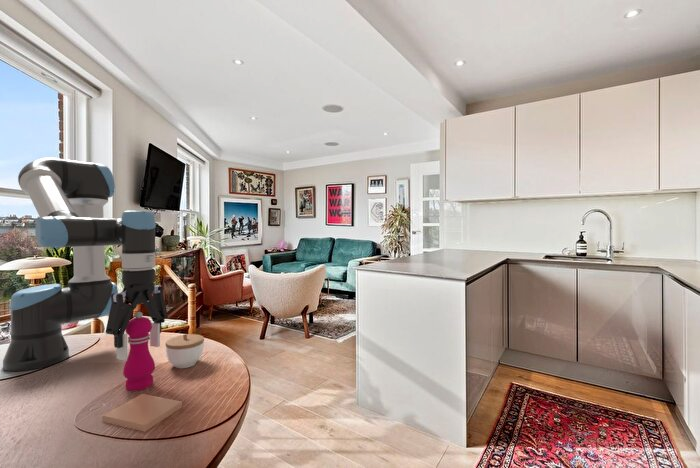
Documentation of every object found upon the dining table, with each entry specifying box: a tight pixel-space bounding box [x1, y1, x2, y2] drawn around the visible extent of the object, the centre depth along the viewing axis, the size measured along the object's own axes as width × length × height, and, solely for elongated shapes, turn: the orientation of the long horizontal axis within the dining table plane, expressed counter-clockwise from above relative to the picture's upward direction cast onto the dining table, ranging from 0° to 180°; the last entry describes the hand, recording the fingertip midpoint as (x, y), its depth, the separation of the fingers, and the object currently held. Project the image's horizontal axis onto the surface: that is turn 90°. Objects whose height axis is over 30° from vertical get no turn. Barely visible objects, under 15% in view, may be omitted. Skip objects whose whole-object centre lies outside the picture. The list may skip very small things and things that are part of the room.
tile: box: [101, 393, 183, 433], centre depth 77 cm, size 2×10×12 cm
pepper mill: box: [122, 311, 156, 392], centre depth 90 cm, size 7×7×20 cm
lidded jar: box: [165, 333, 205, 369], centre depth 104 cm, size 11×11×9 cm
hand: (139, 352), depth 90 cm, fingers open, 9 cm apart
